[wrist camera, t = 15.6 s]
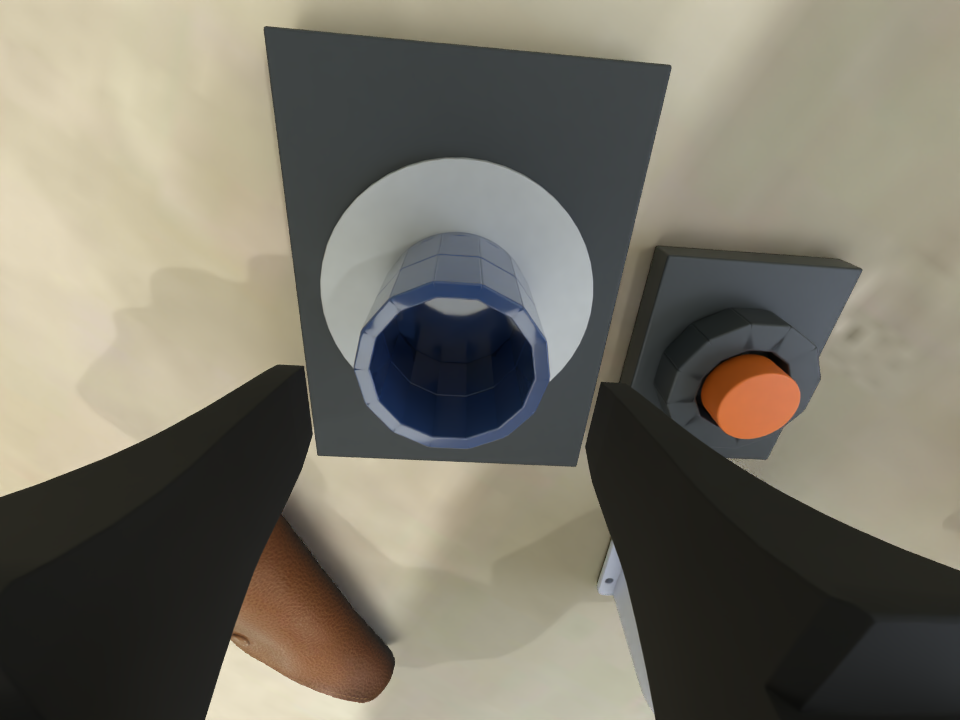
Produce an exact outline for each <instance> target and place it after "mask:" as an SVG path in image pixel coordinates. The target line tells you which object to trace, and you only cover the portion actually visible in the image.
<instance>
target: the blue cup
mask: <svg viewBox="0 0 960 720" xmlns="http://www.w3.org/2000/svg"><path fill="white" fill-rule="evenodd" d="M353 367H354V373H355V376H356V379H357V382H358V385H359V388H360V391H361V394H362V397H363V400H364V403H365V404H366V406H367V407H368V408H369V409H370V410H371V411H372V412H373V413H374V414H375V415H376V416H377V417H378V418H379V419H380V420H381V421H382V422H383V423H384V424H385V425H386V426H387V427H388V428H389V429H390V430H391V431H393V432H394V433H396V434H398V435H400V436H403V437H405V438H408V439H410V440H412V441H415V442H417V443H419V444H422V445H424V446H427V447H431V448H453V449H468V448H469V449H471V448H474V447H477V446H480V445H483V444H487V443H490V442H493V441H496V440H499V439H502V438H505V437H507V436H508V435H509V434H510V433H512V432H513V431H514V430H515V429H516V428H518V427H519V426H520V425H521V424H522V423H524V422H525V421H526V420H527V419H528V418H530V417H531V416H532V415H533V414H534V412H536V410H537V407H538V405H539V403H540V401H541V399H542V396H543V394H544V392H545V390H546V387H547V385H548V383H549V381H550V367H549V356H548V344H547V340H546V337H545V334H544V331H543V327H542V324H541V321H540V318H539V315H538V312H537V309H536V306H535V303H534V300H533V297H532V294H531V291H530V288H529V285H528V282H527V280H526V279H525V277H524V275H523V273H522V271H521V269H520V268H519V266H518V264H517V263H516V262H515V260H514V259H513V258H512V257H511V256H510V255H509V254H508V252H507V251H505V250H504V249H503V248H502V247H500V246H499V245H497V244H496V243H494V242H492V241H491V240H489V239H486V238H484V237H481V236H478V235H475V234H471V233H464V232H447V233H440V234H436V235H432V236H429V237H427V238H424V239H422V240H420V241H418V242H417V243H415V244H413V245H412V246H411V247H409V248H408V249H407V250H406V251H405V252H404V253H403V254H402V255H401V256H400V257H399V258H398V259H397V261H396V262H395V263H394V265H393V267H392V268H391V269H390V270H389V272H388V273H387V275H386V277H385V279H384V281H383V284H382V286H381V288H380V290H379V292H378V294H377V297H376V299H375V301H374V303H373V305H372V308H371V310H370V312H369V314H368V316H367V318H366V321H365V323H364V325H363V327H362V329H361V331H360V336H359V341H358V346H357V351H356V356H355V361H354V366H353Z"/></svg>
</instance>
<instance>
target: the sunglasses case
mask: <svg viewBox="0 0 960 720" xmlns="http://www.w3.org/2000/svg"><path fill="white" fill-rule="evenodd" d="M231 640H232V641H233V642H234V643H235V644H236V646H238V647H239V648H241V649H242V650H243V651H244V652H245V653H247V654H249V655H250V656H251V657H253V658H256V659H257V660H259V661H261V662H263V663H265V664H266V665H268V666H269V667H271V668H273V669H274V670H276V671H278V672H279V673H281V674H282V675H284V676H286V677H288V678H289V679H291V680H293V681H296V682H297V683H299V684H301V685H304V686H306V687H309V688H311V689H313V690H315V691H318V692H321V693H324V694H326V695H330V696H332V697H335V698H339V699H343V700H347V701H353V702H358V703H365V702H370V701H371V700H373V699H375V698H376V697H377V696H378V695H379V694H380V693H381V692H382V691H383V690H384V689H385V687H386V686H387V684H388V683H389V681H390V679H391V677H392V674H393V670H394V666H395V658H394V657H393V654H392V652H391V650H390V649H389V647H388V646H387V645H385V643H384V642H383V641H382V639H381V638H380V637H379V636H377V635H376V634H375V632H374V631H373V630H372V629H371V628H370V627H369V626H367V624H366V622H365V621H364V620H363V619H362V618H361V617H360V616H359V615H358V614H357V613H356V612H355V611H354V610H353V609H352V607H351V605H350V603H349V602H348V601H347V600H346V598H345V597H344V596H343V595H342V593H341V592H340V590H339V589H338V588H337V586H336V585H335V584H334V583H333V581H332V580H331V579H330V578H329V577H328V575H327V574H326V573H325V572H324V571H323V569H322V568H321V567H320V566H319V564H318V563H317V561H316V560H315V558H314V557H313V555H312V554H311V553H310V551H309V550H308V549H307V548H306V546H305V545H304V544H303V542H302V541H301V540H300V539H299V537H298V536H297V535H296V533H295V532H294V531H293V529H292V528H291V527H290V525H289V524H288V522H287V521H286V519H285V518H284V517H283V515H282V514H281V515H280V517H279V519H278V521H277V523H276V525H275V527H274V529H273V531H272V533H271V535H270V537H269V539H268V542H267V544H266V546H265V548H264V550H263V552H262V554H261V557H260V559H259V561H258V564H257V566H256V568H255V571H254V573H253V576H252V579H251V581H250V584H249V587H248V590H247V593H246V595H245V598H244V601H243V604H242V607H241V609H240V612H239V615H238V618H237V621H236V624H235V627H234V630H233V633H232V636H231Z"/></svg>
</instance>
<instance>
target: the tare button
mask: <svg viewBox="0 0 960 720" xmlns="http://www.w3.org/2000/svg"><path fill="white" fill-rule="evenodd" d="M701 400H702V403H703V406H704V407H705V409H706V410H707V411H708V413H709V414H710V415H711V417H712V418H713V419H714V420H715V422H716V423H717V424H718V426H719V427H720V428H721V429H722V431H724V432H725V433H726V434H728V435H730V436H732V437H735V438H739V439H754V438H759V437H762V436H766V435H768V434H770V433H772V432H774V431H776V430H778V429H779V428H781V427H782V426H784V425H785V424H786V423H787V422H788V421H789V420H790V419H791V418H792V416H793V415H794V414H795V412H796V410H797V408H798V406H799V403H800V390H799V387H798V385H797V383H796V382H795V381H794V380H793V379H792V378H791V377H790V376H789V375H788V374H786V373H785V372H784V371H783V370H782V369H781V368H779V367H778V366H777V365H776V364H775V363H774V362H772V361H771V360H770V359H768V358H767V357H764V356H761V355H756V354H745V355H739V356H736V357H732V358H730V359H728V360H726V361H724V362H722V363H721V364H719V365H718V366H717V367H716V368H714V369H713V370H712V371H711V372H710V374H709V375H708V376H707V378H706V379H705V381H704V383H703V386H702V389H701Z"/></svg>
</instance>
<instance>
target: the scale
mask: <svg viewBox="0 0 960 720" xmlns="http://www.w3.org/2000/svg"><path fill="white" fill-rule="evenodd" d="M264 35H265V43H266V51H267V59H268V67H269V75H270V83H271V91H272V99H273V107H274V115H275V123H276V131H277V139H278V146H279V154H280V162H281V170H282V178H283V186H284V194H285V202H286V210H287V218H288V226H289V234H290V242H291V250H292V257H293V265H294V273H295V281H296V289H297V297H298V305H299V313H300V321H301V329H302V337H303V345H304V353H305V360H306V368H307V376H308V384H309V392H310V400H311V408H312V416H313V424H314V432H315V440H316V448H317V455H318V456H338V457H361V458H384V459H408V460H431V461H454V462H478V463H501V464H524V465H548V466H571V467H576V465H577V461H578V457H579V453H580V449H581V444H582V440H583V436H584V432H585V428H586V423H587V419H588V415H589V411H590V407H591V403H592V398H593V394H594V390H595V386H596V382H597V377H598V373H599V369H600V365H601V361H602V357H603V352H604V348H605V344H606V340H607V336H608V331H609V327H610V323H611V319H612V315H613V311H614V306H615V302H616V298H617V294H618V290H619V285H620V281H621V277H622V273H623V269H624V264H625V260H626V256H627V252H628V248H629V244H630V239H631V235H632V231H633V227H634V223H635V218H636V214H637V210H638V206H639V202H640V198H641V193H642V189H643V185H644V181H645V177H646V172H647V168H648V164H649V160H650V156H651V152H652V147H653V143H654V139H655V135H656V131H657V126H658V122H659V118H660V114H661V110H662V106H663V101H664V97H665V93H666V89H667V85H668V80H669V76H670V72H671V65H666V64H655V63H645V62H634V61H624V60H613V59H603V58H592V57H582V56H572V55H561V54H551V53H540V52H530V51H519V50H509V49H499V48H488V47H478V46H467V45H457V44H446V43H436V42H425V41H415V40H405V39H394V38H384V37H373V36H363V35H352V34H342V33H331V32H321V31H311V30H300V29H290V28H279V27H269V26H266V27H264ZM447 232H464V233H471V234H475V235H478V236H481V237H484V238H486V239H489V240H491V241H492V242H494V243H496V244H497V245H499V246H500V247H502V248H503V249H504V250H505V251H507V252H508V254H509V255H510V256H511V257H512V258H513V259H514V260H515V262H516V263H517V264H518V266H519V268H520V269H521V271H522V273H523V275H524V277H525V279H526V280H527V282H528V285H529V288H530V291H531V294H532V297H533V300H534V303H535V306H536V309H537V312H538V315H539V318H540V321H541V324H542V327H543V331H544V334H545V337H546V340H547V344H548V356H549V367H550V381H549V383H548V385H547V387H546V390H545V392H544V394H543V396H542V399H541V401H540V403H539V405H538V407H537V410H536V412H534V414H533V415H532V416H531V417H530V418H528V419H527V420H526V421H525V422H524V423H522V424H521V425H520V426H519V427H518V428H516V429H515V430H514V431H513V432H512V433H510V434H509V435H508V436H507V437H505V438H502V439H499V440H496V441H493V442H490V443H487V444H483V445H480V446H477V447H474V448H471V449H469V448H468V449H453V448H431V447H427V446H424V445H422V444H419V443H417V442H415V441H412V440H410V439H408V438H405V437H403V436H400V435H398V434H396V433H394V432H393V431H391V430H390V429H389V428H388V427H387V426H386V425H385V424H384V423H383V422H382V421H381V420H380V419H379V418H378V417H377V416H376V415H375V414H374V413H373V412H372V411H371V410H370V409H369V408H368V407H367V406H366V404H365V403H364V400H363V397H362V394H361V391H360V388H359V385H358V382H357V379H356V376H355V373H354V367H353V366H354V361H355V356H356V351H357V346H358V341H359V336H360V331H361V329H362V327H363V325H364V323H365V321H366V318H367V316H368V314H369V312H370V310H371V308H372V305H373V303H374V301H375V299H376V297H377V294H378V292H379V290H380V288H381V286H382V284H383V281H384V279H385V277H386V275H387V273H388V272H389V270H390V269H391V268H392V267H393V265H394V263H395V262H396V261H397V259H398V258H399V257H400V256H401V255H402V254H403V253H404V252H405V251H406V250H407V249H408V248H409V247H411V246H412V245H413V244H415V243H417V242H418V241H420V240H422V239H424V238H427V237H429V236H432V235H436V234H440V233H447Z"/></svg>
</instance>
